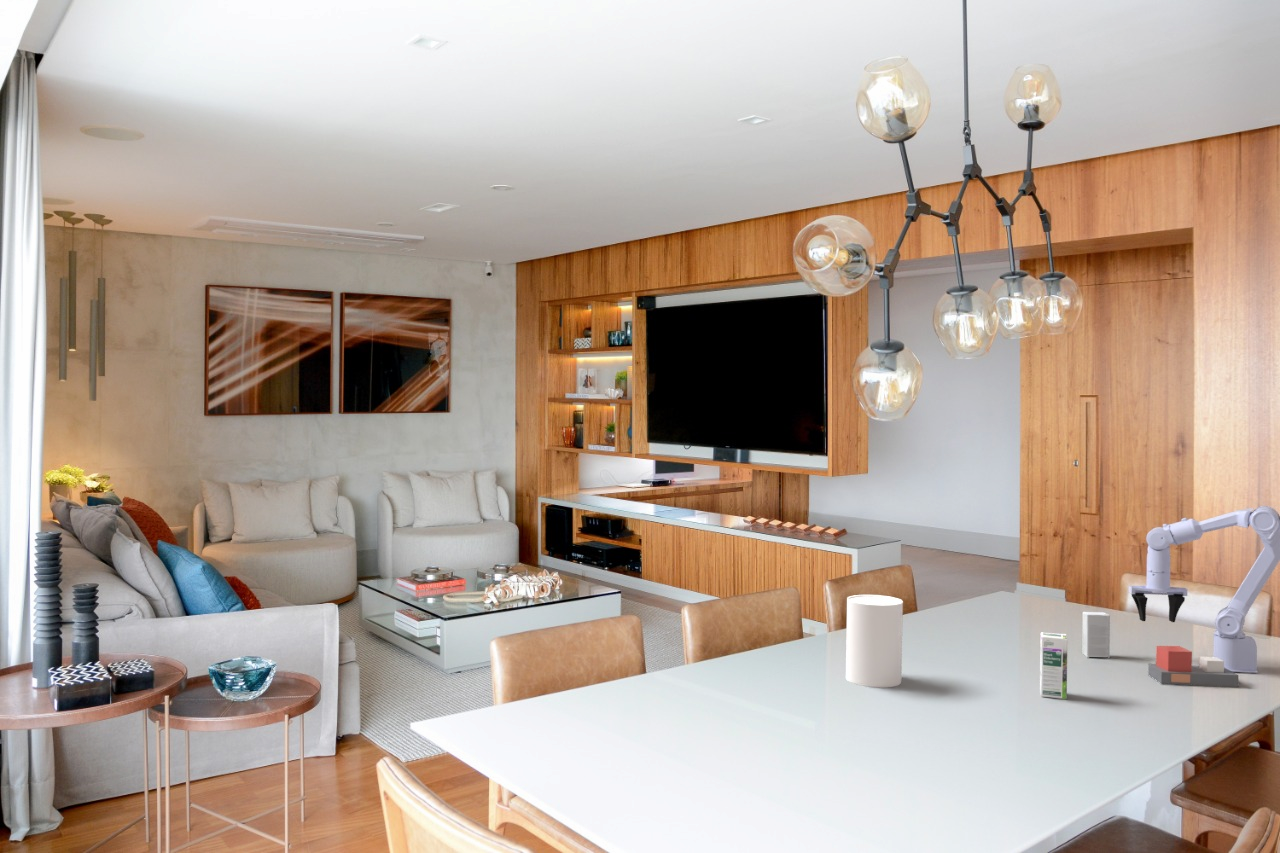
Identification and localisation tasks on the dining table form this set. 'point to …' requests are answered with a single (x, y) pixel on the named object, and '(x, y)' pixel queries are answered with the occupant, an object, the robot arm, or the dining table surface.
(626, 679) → the dining table surface
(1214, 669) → the block
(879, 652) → the canister
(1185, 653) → the cap
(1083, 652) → the skincare box
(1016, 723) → the dining table surface
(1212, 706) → the dining table surface
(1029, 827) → the dining table surface
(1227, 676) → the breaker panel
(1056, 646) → the syrup box
